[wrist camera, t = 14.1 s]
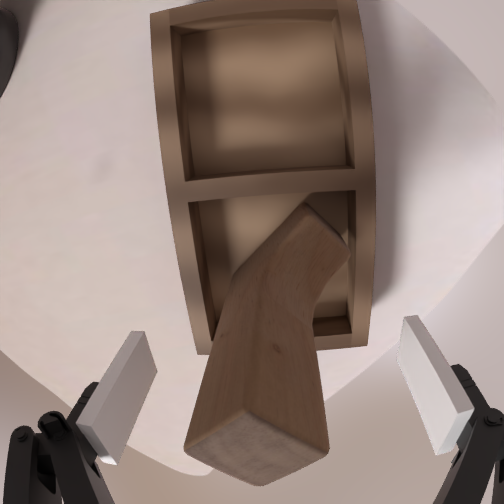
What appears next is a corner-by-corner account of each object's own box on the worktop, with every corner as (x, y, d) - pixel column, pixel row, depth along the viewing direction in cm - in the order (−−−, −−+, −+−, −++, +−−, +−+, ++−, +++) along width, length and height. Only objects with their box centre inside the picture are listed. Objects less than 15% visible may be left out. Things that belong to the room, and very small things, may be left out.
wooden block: (303, 199, 25) (355, 328, 8) (342, 235, 26) (429, 393, 9) (230, 275, 28) (177, 453, 11) (269, 306, 29) (259, 491, 12)
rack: (168, 29, 22) (149, 13, 18) (343, 13, 21) (355, -6, 16) (206, 327, 32) (197, 354, 28) (357, 319, 30) (367, 345, 26)
